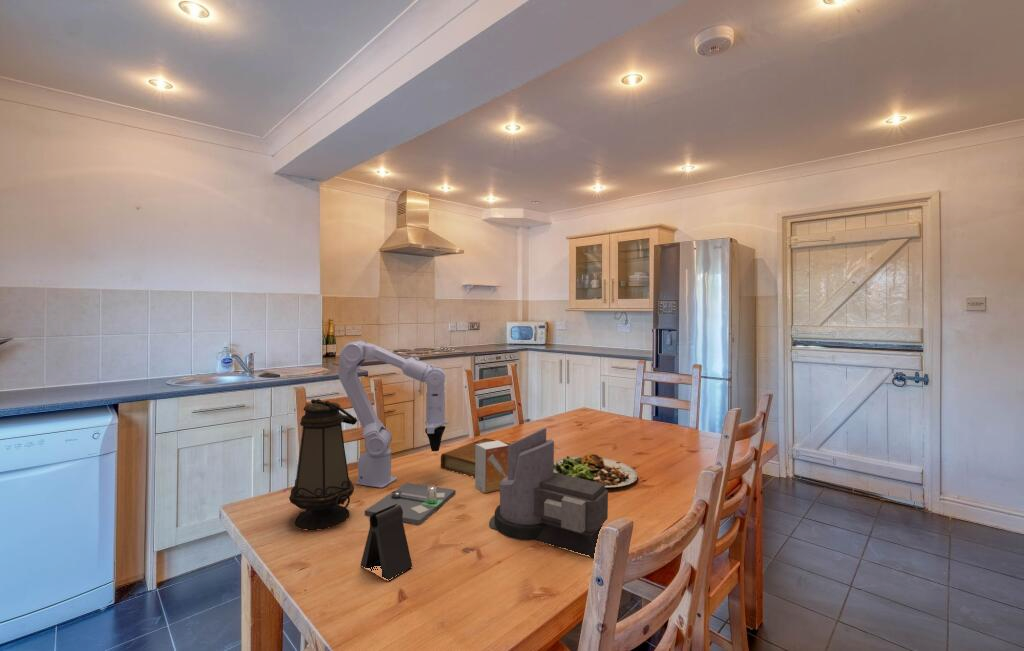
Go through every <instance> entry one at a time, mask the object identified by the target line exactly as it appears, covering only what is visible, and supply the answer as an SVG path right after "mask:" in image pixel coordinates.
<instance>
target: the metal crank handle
mask: <svg viewBox="0 0 1024 651" xmlns="http://www.w3.org/2000/svg"><path fill="white" fill-rule="evenodd" d="M427 486H428V487H427V497H425V496H419V495H413V494H407V493H402V491H400V490H397V489H395V490H396V491H395V490H393V491H392V492H391V493H392V497H393V498H399V497H403V498H409V499H415V500H421V501H427V502H428V503H437V502H438V499H437V487H438V486H437V485H434V484H433V485H427Z"/></svg>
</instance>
